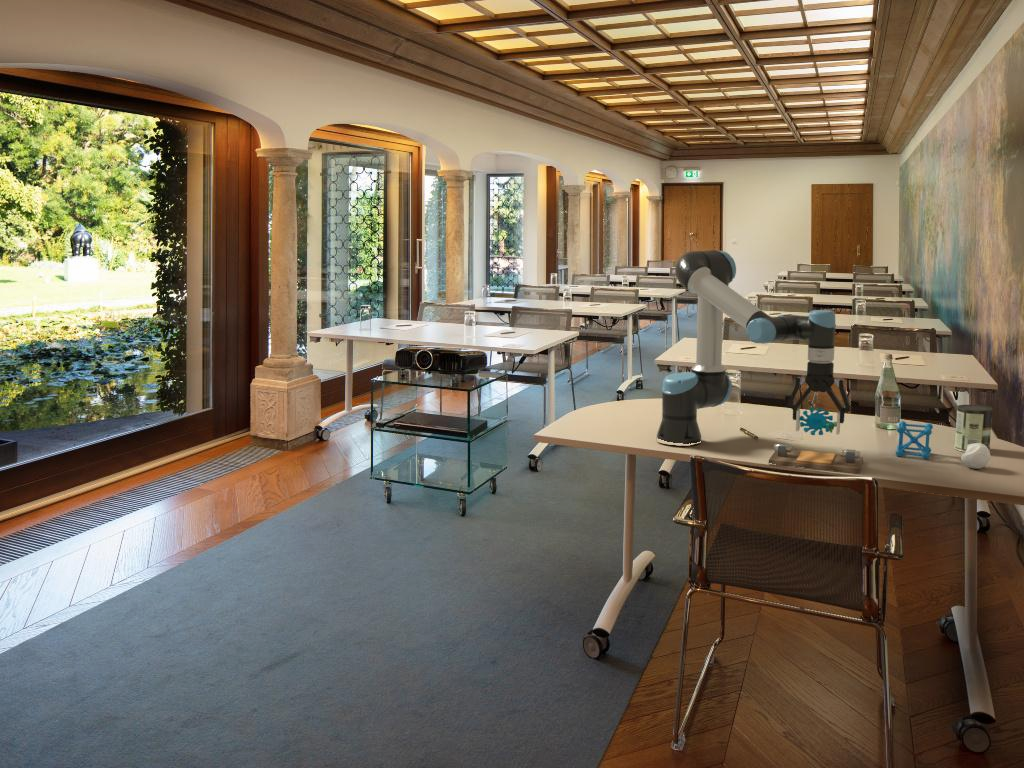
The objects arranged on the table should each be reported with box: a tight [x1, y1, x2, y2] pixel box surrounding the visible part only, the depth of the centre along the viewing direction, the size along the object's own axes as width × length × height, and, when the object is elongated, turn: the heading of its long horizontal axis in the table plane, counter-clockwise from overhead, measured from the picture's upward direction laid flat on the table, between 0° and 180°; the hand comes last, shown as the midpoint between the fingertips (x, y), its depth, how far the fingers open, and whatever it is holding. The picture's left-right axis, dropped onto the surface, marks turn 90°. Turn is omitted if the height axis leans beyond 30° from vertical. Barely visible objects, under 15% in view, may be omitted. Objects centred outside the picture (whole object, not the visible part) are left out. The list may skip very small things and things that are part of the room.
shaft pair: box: [773, 443, 861, 464], centre depth 265 cm, size 25×4×3 cm, turn 64°
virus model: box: [799, 406, 837, 436], centre depth 265 cm, size 11×6×10 cm
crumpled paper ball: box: [960, 443, 991, 470], centre depth 257 cm, size 8×8×8 cm
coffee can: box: [954, 404, 994, 453], centre depth 278 cm, size 10×10×14 cm
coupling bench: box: [768, 449, 864, 474], centre depth 266 cm, size 26×15×2 cm, turn 64°
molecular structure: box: [894, 420, 934, 460], centre depth 273 cm, size 10×10×10 cm
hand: (817, 431), depth 264 cm, fingers closed on virus model, 11 cm apart
